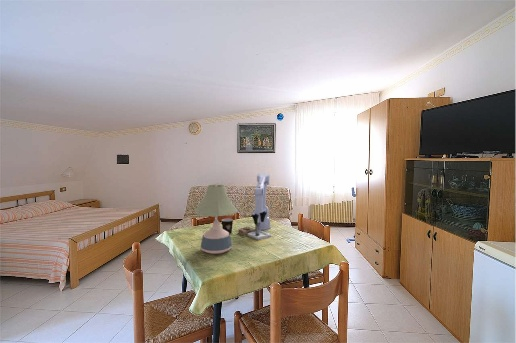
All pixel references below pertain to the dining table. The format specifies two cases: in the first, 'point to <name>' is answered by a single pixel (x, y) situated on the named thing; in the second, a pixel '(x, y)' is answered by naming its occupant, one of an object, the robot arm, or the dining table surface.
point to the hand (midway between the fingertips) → (259, 222)
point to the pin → (257, 229)
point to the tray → (261, 236)
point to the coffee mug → (227, 225)
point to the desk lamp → (216, 219)
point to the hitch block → (245, 231)
